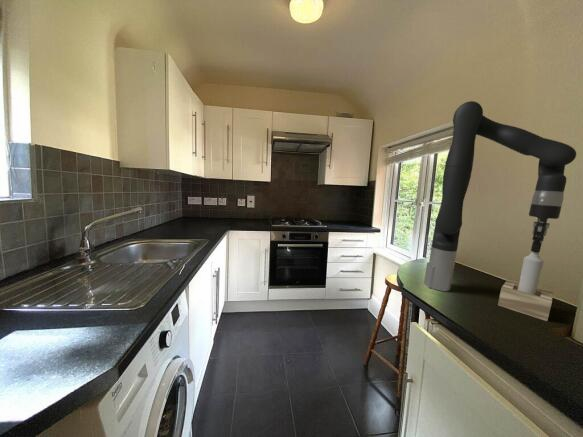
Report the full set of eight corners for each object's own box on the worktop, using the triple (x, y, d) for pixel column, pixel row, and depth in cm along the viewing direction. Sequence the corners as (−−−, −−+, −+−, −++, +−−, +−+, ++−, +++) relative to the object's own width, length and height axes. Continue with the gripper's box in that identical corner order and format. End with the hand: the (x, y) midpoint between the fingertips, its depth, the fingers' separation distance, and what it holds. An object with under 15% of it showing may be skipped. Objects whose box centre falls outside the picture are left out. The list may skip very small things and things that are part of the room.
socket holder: (547, 321, 81) (551, 301, 80) (497, 305, 91) (501, 287, 90) (548, 310, 90) (552, 292, 89) (503, 296, 100) (506, 280, 99)
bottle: (537, 306, 87) (553, 239, 84) (521, 303, 88) (536, 237, 85) (526, 299, 92) (541, 236, 89) (511, 297, 93) (525, 234, 90)
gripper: (561, 205, 78) (549, 257, 80) (561, 205, 87) (550, 251, 89) (529, 202, 83) (519, 251, 86) (532, 203, 92) (523, 246, 95)
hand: (535, 251), depth 87 cm, fingers closed on bottle, 2 cm apart
